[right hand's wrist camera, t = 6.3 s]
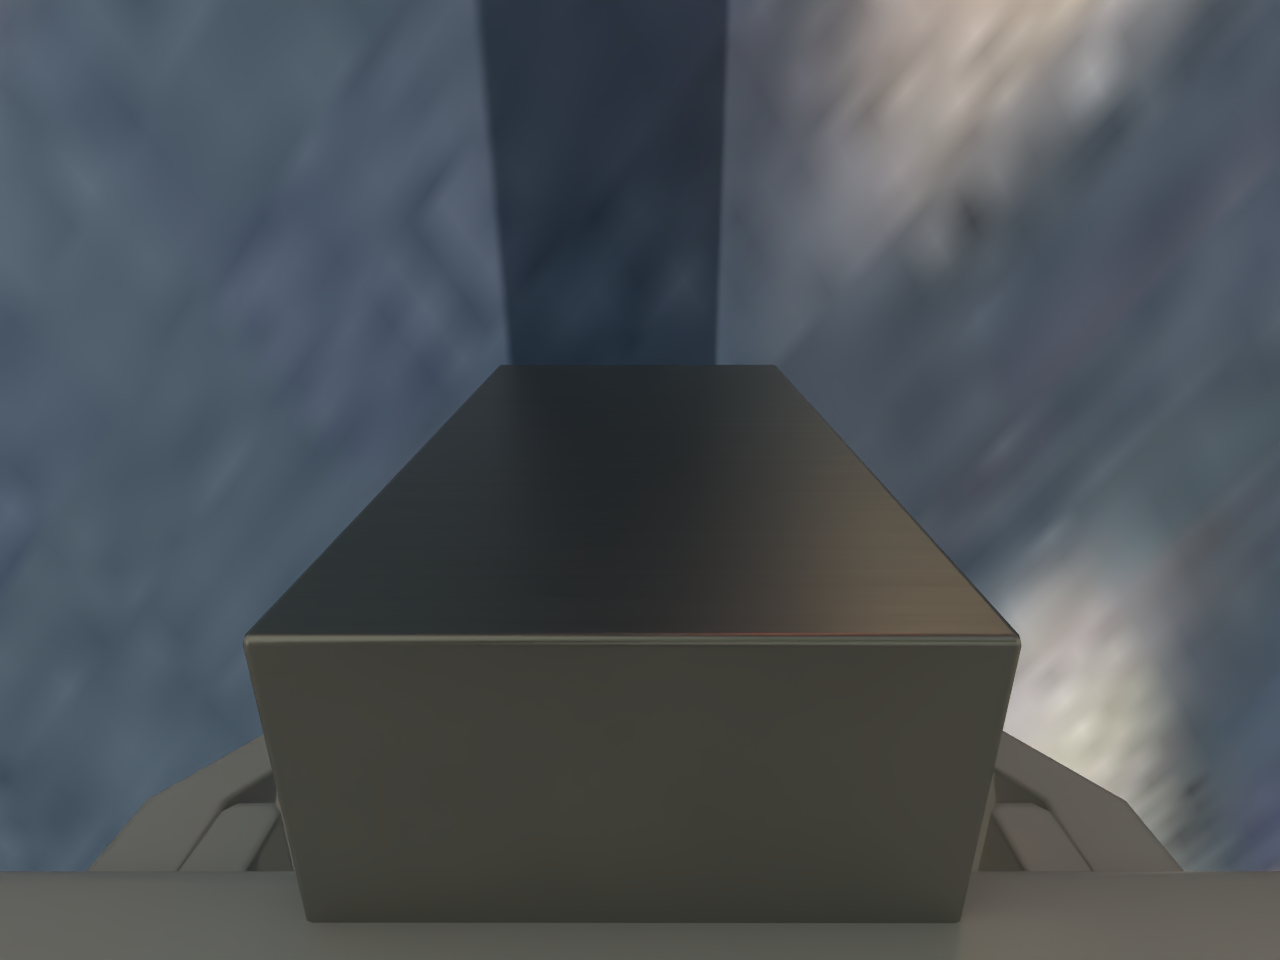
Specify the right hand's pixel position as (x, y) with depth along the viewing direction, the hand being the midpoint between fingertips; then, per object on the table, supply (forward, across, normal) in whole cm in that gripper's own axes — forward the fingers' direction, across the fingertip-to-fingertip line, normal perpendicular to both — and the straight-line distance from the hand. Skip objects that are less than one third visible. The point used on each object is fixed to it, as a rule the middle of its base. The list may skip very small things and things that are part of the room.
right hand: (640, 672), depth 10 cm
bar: (+3, 0, -9) cm, 9 cm away
